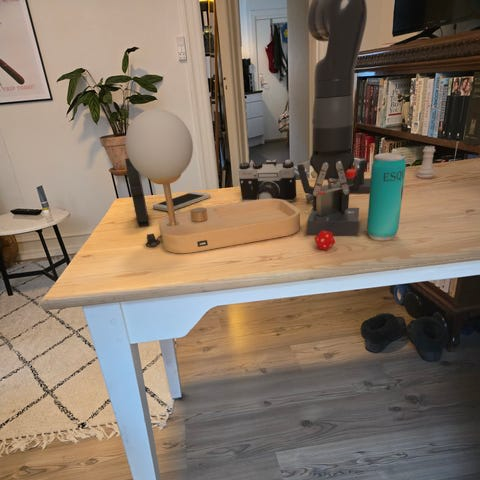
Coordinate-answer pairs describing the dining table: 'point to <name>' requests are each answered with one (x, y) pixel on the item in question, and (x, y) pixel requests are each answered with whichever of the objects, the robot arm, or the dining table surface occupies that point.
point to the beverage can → (385, 195)
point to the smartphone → (183, 200)
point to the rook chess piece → (427, 163)
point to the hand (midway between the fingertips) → (330, 211)
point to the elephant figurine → (325, 188)
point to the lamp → (199, 219)
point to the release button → (350, 173)
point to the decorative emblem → (137, 194)
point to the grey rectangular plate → (328, 201)
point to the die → (324, 240)
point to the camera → (267, 180)
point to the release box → (363, 186)
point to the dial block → (334, 222)
